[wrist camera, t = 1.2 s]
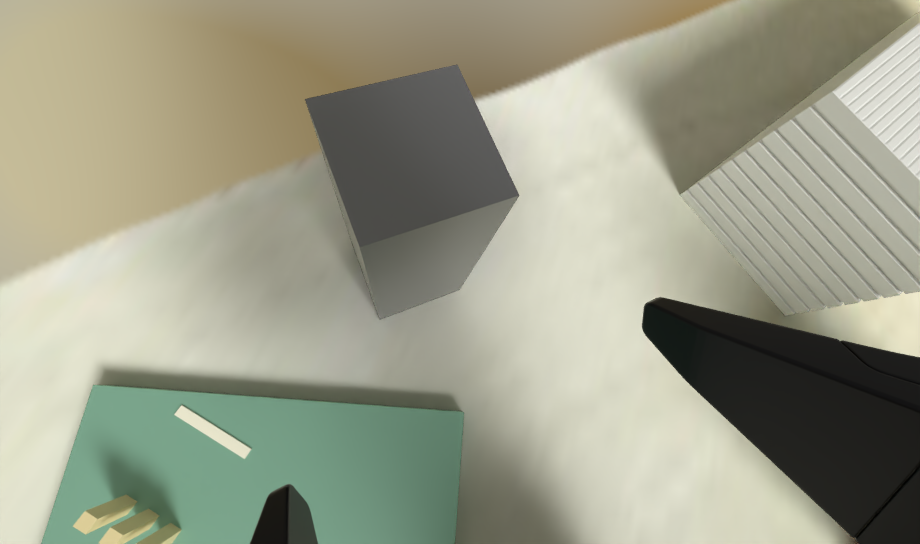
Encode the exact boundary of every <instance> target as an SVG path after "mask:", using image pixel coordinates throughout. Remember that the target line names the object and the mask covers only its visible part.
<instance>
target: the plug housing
mask: <svg viewBox="0 0 920 544" xmlns="http://www.w3.org/2000/svg"><path fill="white" fill-rule="evenodd" d="M305 101H306V104H307V107H308V110H309V113H310V116H311V119H312V122H313V125H314V128H315V132H316V134H317V138H318V141H319V144H320V147H321V150H322V153H323V156H324V159H325V162H326V165H327V168H328V171H329V174H330V177H331V180H332V184H333V187H334V190H335V193H336V196H337V199H338V202H339V205H340V208H341V211H342V214H343V217H344V220H345V223H346V226H347V229H348V232H349V236H350V239H351V242H352V244H353V247H354V250H355V253H356V255H357V258H358V261H359V264H360V266H361V269H362V272H363V275H364V277H365V280H366V283H367V285H368V288H369V291H370V294H371V296H372V299H373V302H374V305H375V307H376V310H377V313H378V316H379V318H380V319H383V318H385V317H388V316H391V315H393V314H396V313H399V312H402V311H404V310H407V309H410V308H412V307H415V306H418V305H420V304H423V303H426V302H428V301H431V300H434V299H436V298H439V297H442V296H444V295H447V294H450V293H452V292H455V291H458V290H460V288H461V287H462V285H463V284H464V282H465V280H466V279H467V277H468V276H469V274H470V272H471V271H472V269H473V268H474V266H475V265H476V263H477V261H478V260H479V258H480V257H481V255H482V254H483V252H484V250H485V249H486V247H487V246H488V244H489V242H490V241H491V239H492V238H493V236H494V235H495V233H496V231H497V230H498V228H499V227H500V225H501V224H502V222H503V220H504V219H505V217H506V216H507V214H508V212H509V211H510V209H511V208H512V206H513V205H514V203H515V201H516V200H517V198H518V197H519V194H518V192H517V190H516V188H515V186H514V183H513V181H512V179H511V177H510V175H509V173H508V171H507V169H506V167H505V164H504V162H503V160H502V158H501V156H500V154H499V152H498V150H497V147H496V145H495V143H494V141H493V139H492V137H491V135H490V133H489V131H488V128H487V126H486V124H485V122H484V120H483V118H482V116H481V114H480V112H479V109H478V107H477V105H476V103H475V101H474V99H473V97H472V95H471V93H470V90H469V88H468V86H467V84H466V82H465V80H464V78H463V76H462V74H461V71H460V69H459V67H458V65H453V66H449V67H444V68H440V69H435V70H431V71H427V72H422V73H418V74H414V75H409V76H405V77H400V78H396V79H392V80H387V81H383V82H379V83H374V84H369V85H365V86H361V87H357V88H352V89H347V90H343V91H339V92H334V93H330V94H326V95H321V96H317V97H312V98H308V99H305Z"/></svg>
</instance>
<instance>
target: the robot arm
mask: <svg viewBox="0 0 920 544" xmlns="http://www.w3.org/2000/svg"><path fill="white" fill-rule="evenodd" d="M642 329H643V332H644V333H645V335H646V336H647V337H648V339H649V340H650V341H651V342H652V343H653V344H654V345H655V347H656V348H657V349H658V350H659V351H660V352H661V353H662V354H663V356H664V357H665V358H666V359H667V360H668V361H669V362H670V364H671V365H672V366H673V367H674V368H675V369H676V370H677V371H678V373H679V374H680V375H681V376H682V377H683V378H684V379H685V380H686V381H687V382H688V383H689V384H690V385H691V386H692V387H693V388H694V389H695V390H696V391H697V392H698V393H699V394H700V395H701V396H702V397H704V398H705V399H706V400H707V401H708V402H709V403H710V404H711V405H712V406H713V407H714V408H715V409H716V410H717V411H718V412H720V413H721V414H722V415H723V416H724V417H725V418H726V419H727V420H728V421H729V422H730V423H731V424H732V425H733V426H734V427H736V428H737V429H738V430H739V431H740V432H741V433H742V434H743V435H744V436H745V437H746V438H747V439H748V440H749V441H750V442H752V443H753V444H754V445H755V446H756V447H757V448H758V449H759V450H760V451H761V452H762V453H763V454H764V455H765V456H766V457H768V458H769V459H770V460H771V461H772V462H773V463H774V464H775V465H776V466H777V467H778V468H779V469H780V470H781V471H782V472H784V473H785V474H786V475H787V476H788V477H789V478H790V479H791V480H792V481H793V482H794V483H795V484H796V485H797V486H798V487H800V488H801V489H802V490H803V491H804V492H805V493H806V494H807V495H808V496H809V497H810V498H811V499H812V500H813V501H815V502H816V503H817V504H818V505H819V506H820V507H821V508H822V509H823V510H824V511H825V512H826V513H827V514H828V515H829V516H831V517H832V518H833V519H834V520H835V521H836V522H837V523H838V524H839V525H840V526H841V527H842V528H843V529H844V530H845V531H847V532H848V533H849V534H850V535H851V536H852V537H853V538H855V540H856V541H857V542H858V543H859V544H920V357H915V356H910V355H905V354H900V353H895V352H890V351H886V350H882V349H877V348H873V347H868V346H864V345H860V344H855V343H851V342H847V341H839V340H838V339H834V338H830V337H826V336H822V335H817V334H813V333H809V332H805V331H801V330H796V329H792V328H788V327H784V326H780V325H776V324H771V323H767V322H763V321H759V320H755V319H750V318H746V317H742V316H738V315H734V314H730V313H725V312H721V311H717V310H713V309H709V308H704V307H700V306H696V305H692V304H688V303H683V302H679V301H675V300H671V299H667V298H662V297H659V298H655V299H653V300H651V301H649V302H648V303H646V304H645V306H644V312H643V321H642ZM250 544H318V541H317V537H316V533H315V528H314V524H313V519H312V515H311V511H310V508H309V506H308V504H307V502H306V501H305V500H304V498H303V497H302V496H301V495H300V494H299V492H298V491H297V490H296V489H295V488H294V486H293V485H291V484H286V485H284V486H282V487H280V488H278V489H276V490H274V491H272V492H271V493H270V494H269V495H268V497H267V499H266V501H265V504H264V507H263V509H262V512H261V515H260V517H259V520H258V523H257V525H256V528H255V531H254V533H253V536H252V539H251V541H250Z"/></svg>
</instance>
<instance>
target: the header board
mask: <svg viewBox="0 0 920 544" xmlns="http://www.w3.org/2000/svg"><path fill="white" fill-rule="evenodd" d="M463 421H464V412H462V411H451V410H437V409H424V408H410V407H397V406H383V405H370V404H356V403H343V402H329V401H316V400H302V399H289V398H275V397H262V396H248V395H235V394H221V393H208V392H194V391H181V390H167V389H154V388H141V387H127V386H114V385H93V387H92V390H91V394H90V397H89V400H88V403H87V406H86V409H85V412H84V415H83V418H82V421H81V424H80V427H79V430H78V433H77V436H76V439H75V442H74V445H73V448H72V451H71V454H70V457H69V461H68V464H67V467H66V470H65V473H64V476H63V479H62V482H61V485H60V488H59V491H58V494H57V497H56V500H55V503H54V506H53V509H52V512H51V515H50V518H49V521H48V524H47V528H46V531H45V534H44V537H43V540H42V543H41V544H250V541H251V539H252V536H253V533H254V531H255V528H256V525H257V523H258V520H259V517H260V515H261V512H262V509H263V507H264V504H265V501H266V499H267V497H268V495H269V494H270V493H271V492H272V491H274V490H276V489H278V488H280V487H282V486H284V485H286V484H291V485H293V486H294V488H295V489H296V490H297V491H298V492H299V494H300V495H301V496H302V497H303V498H304V500H305V501H306V502H307V504H308V506H309V508H310V511H311V515H312V519H313V524H314V528H315V533H316V537H317V541H318V544H455V535H456V521H457V507H458V492H459V478H460V464H461V449H462V435H463Z"/></svg>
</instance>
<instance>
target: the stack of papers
mask: <svg viewBox="0 0 920 544" xmlns="http://www.w3.org/2000/svg"><path fill="white" fill-rule="evenodd" d="M680 196H681V197H682V198H683V199H684V201H685V202H686V203H687V204H688V205H689V206H690V207H691V209H692V210H693V211H694V212H695V213H696V214H697V215H698V217H699V218H700V219H701V220H702V221H703V222H704V223H705V225H706V226H707V227H708V228H709V229H710V230H711V231H712V233H713V234H714V235H715V236H716V237H717V238H718V240H719V241H720V242H721V243H722V244H723V245H724V246H725V248H726V249H727V250H728V251H729V252H730V253H731V254H732V256H733V257H734V258H735V259H736V260H737V261H738V262H739V264H740V265H741V266H742V267H743V268H744V269H745V270H746V272H747V273H748V274H749V275H750V276H751V277H752V278H753V280H754V281H755V282H756V283H757V284H758V285H759V286H760V288H761V289H762V290H763V291H764V292H765V293H766V295H767V296H768V297H769V298H770V299H771V300H772V301H773V303H774V304H775V305H776V306H777V307H778V308H779V309H780V311H781V312H782V313H783V314H784V315H785V316H787V315H792V314H795V313H796V312H797V313H803V312H809V311H810V309H811V310H812V311H814V310H820V309H824V308H825V307H826V306H827V307H828V308H831V307H836V306H841V305H842V304H843V303H844V304H845V305H847V304H853V303H858V302H860V300H861V299H862V300H863V301H869V300H875V299H879V297H880V296H881V295H882V296H883V298H886V297H892V296H897V295H900V294H901V293H902V292H904V293H905V294H908V293H914V292H919V291H920V11H919V12H918V13H916V14H915V15H914V16H912V17H911V18H909V19H908V20H907V21H905V22H904V23H903V24H901V25H900V26H898V27H897V28H896V29H894V30H893V31H892V32H890V33H889V34H888V35H887V36H885V37H884V38H883V39H881V40H880V41H879V42H878V43H876V44H875V45H874V46H872V47H871V48H870V49H868V50H867V51H866V52H865V53H863V54H862V55H861V56H859V57H858V58H857V59H855V60H854V61H853V62H852V63H850V64H849V65H848V66H846V67H845V68H844V69H842V70H841V71H840V72H839V73H837V74H836V75H835V76H833V77H832V78H831V79H830V80H828V81H827V82H826V83H824V84H823V85H822V86H820V87H819V88H818V89H817V90H815V91H814V92H813V93H811V94H810V95H809V96H807V97H806V98H805V99H804V100H802V101H801V102H800V103H798V104H797V105H796V106H794V107H793V108H792V109H791V110H789V111H788V112H787V113H785V114H784V115H783V116H782V117H780V118H779V119H778V120H776V121H775V122H774V123H772V124H771V125H770V126H769V127H767V128H766V129H765V130H763V131H762V132H761V133H759V134H758V135H757V136H756V137H754V138H753V139H752V140H750V141H749V142H748V143H746V144H745V145H744V146H743V147H741V148H740V149H739V150H737V151H736V152H735V153H734V154H732V155H731V156H730V157H728V158H727V159H726V160H724V161H723V162H722V163H721V164H719V165H718V166H717V167H715V168H714V169H713V170H711V171H710V172H709V173H708V174H706V175H705V176H704V177H702V178H701V179H700V180H699V181H697V182H696V183H695V184H693V185H692V186H691V187H689V188H688V189H687V190H686V191H684V192H683V193H682V194H680Z"/></svg>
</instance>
